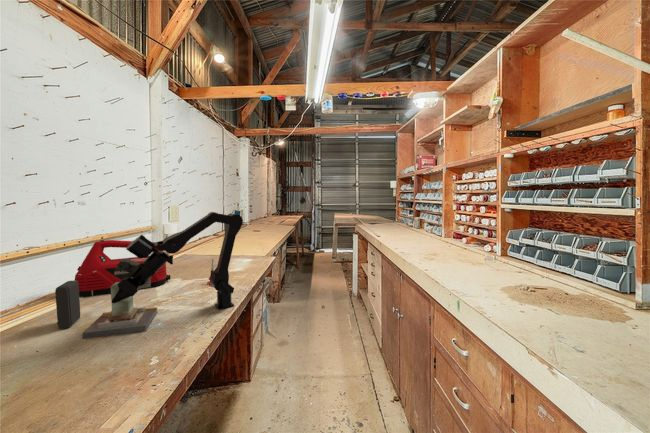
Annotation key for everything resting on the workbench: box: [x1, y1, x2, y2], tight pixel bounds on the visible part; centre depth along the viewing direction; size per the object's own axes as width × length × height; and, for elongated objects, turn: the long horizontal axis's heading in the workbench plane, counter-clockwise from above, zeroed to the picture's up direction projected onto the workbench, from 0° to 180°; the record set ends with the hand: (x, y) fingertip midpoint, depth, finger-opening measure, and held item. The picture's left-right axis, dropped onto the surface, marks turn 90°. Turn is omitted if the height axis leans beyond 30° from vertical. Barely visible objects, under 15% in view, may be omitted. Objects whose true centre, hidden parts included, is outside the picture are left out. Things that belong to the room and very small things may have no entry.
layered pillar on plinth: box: [108, 282, 139, 322], centre depth 103 cm, size 7×7×13 cm
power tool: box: [74, 239, 171, 298], centre depth 143 cm, size 16×40×25 cm, turn 123°
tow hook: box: [206, 259, 215, 287], centre depth 150 cm, size 8×13×9 cm
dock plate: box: [81, 306, 158, 340], centre depth 103 cm, size 18×16×4 cm
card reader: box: [54, 279, 81, 330], centre depth 103 cm, size 9×4×15 cm, turn 21°
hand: (117, 297), depth 102 cm, fingers open, 9 cm apart
